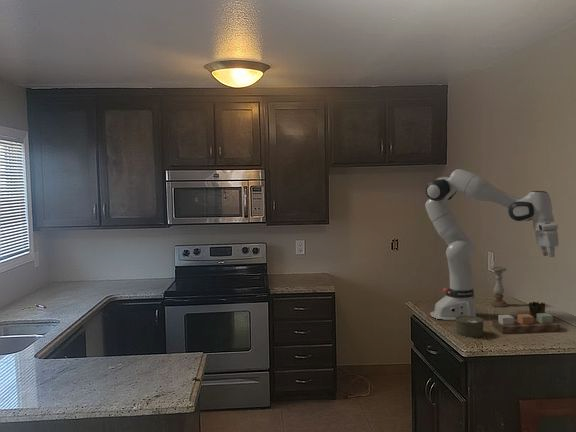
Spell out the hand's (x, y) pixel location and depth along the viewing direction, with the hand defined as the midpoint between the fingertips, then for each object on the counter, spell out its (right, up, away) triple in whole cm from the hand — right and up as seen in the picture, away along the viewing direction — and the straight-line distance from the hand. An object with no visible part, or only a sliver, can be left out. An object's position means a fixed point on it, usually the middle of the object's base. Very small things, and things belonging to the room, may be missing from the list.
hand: (548, 256), depth 240 cm
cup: (+4, -33, +21) cm, 39 cm away
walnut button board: (-8, -34, +6) cm, 35 cm away
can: (-35, -36, +2) cm, 50 cm away
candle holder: (-3, -31, +50) cm, 59 cm away
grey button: (-17, -32, +6) cm, 36 cm away
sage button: (+1, -31, +6) cm, 32 cm away
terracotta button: (-8, -31, +6) cm, 33 cm away
